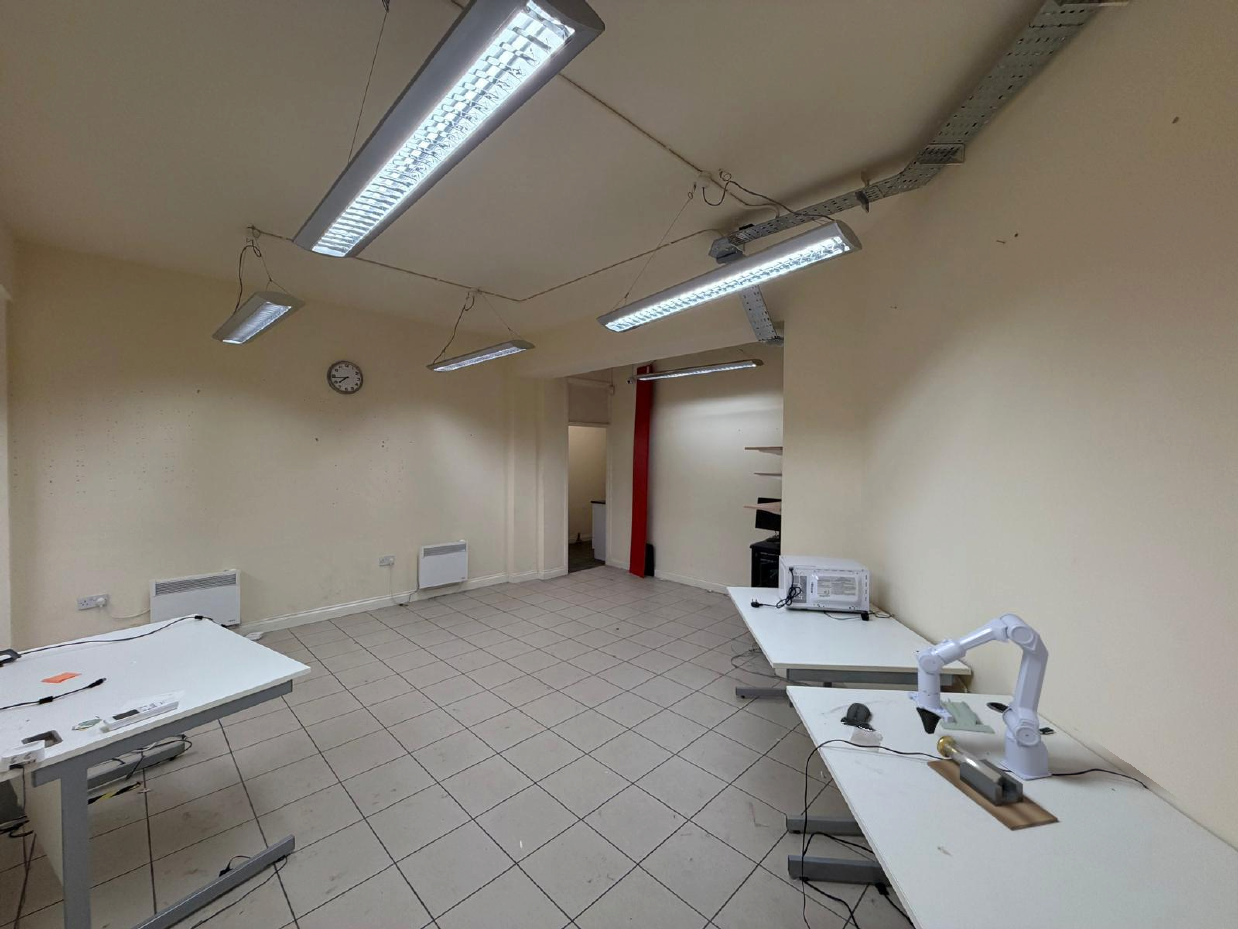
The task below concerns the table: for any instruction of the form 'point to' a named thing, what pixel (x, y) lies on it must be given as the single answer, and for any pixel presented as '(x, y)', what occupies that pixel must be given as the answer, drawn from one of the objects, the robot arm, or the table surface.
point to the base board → (1006, 814)
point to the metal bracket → (963, 718)
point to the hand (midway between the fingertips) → (929, 732)
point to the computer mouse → (858, 716)
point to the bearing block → (992, 785)
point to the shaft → (966, 758)
